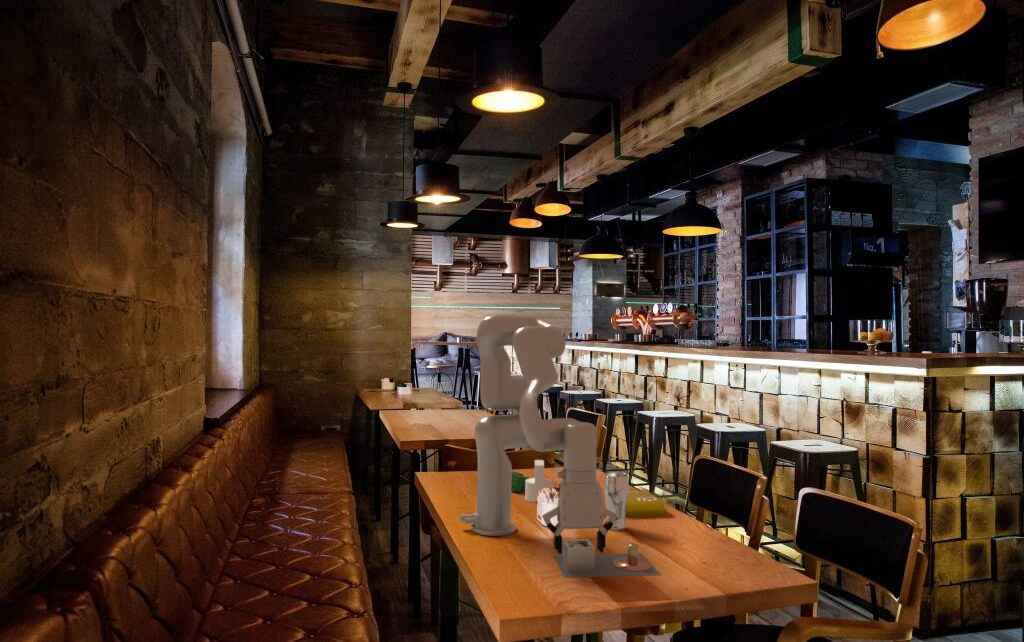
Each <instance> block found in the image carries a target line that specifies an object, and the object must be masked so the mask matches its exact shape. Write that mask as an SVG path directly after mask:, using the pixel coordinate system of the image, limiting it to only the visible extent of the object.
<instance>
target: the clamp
mask: <svg viewBox="0 0 1024 642" xmlns="http://www.w3.org/2000/svg"><path fill="white" fill-rule="evenodd" d="M529 478H531V477H530V476H525V475H524V474H523V473H521V472H518V471H513V470H512V476H511V492H513V493H517V492H519V493H520V492H521V491H525V481H526V479H529Z"/></svg>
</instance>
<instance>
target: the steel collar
mask: <svg viewBox="0 0 1024 642" xmlns="http://www.w3.org/2000/svg"><path fill="white" fill-rule="evenodd" d="M575 544H580V545H583V546H584V547H573V545H575ZM595 554H596V547H595V546H594V544H593V543H592V541H591V540H590V539H589V538H579V539H577V538H574V539H573V538H569V539H562V553H561V555H562V562H563V564H564V566H565V568H566V570H567V571H588V570H595Z"/></svg>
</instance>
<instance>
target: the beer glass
mask: <svg viewBox="0 0 1024 642" xmlns="http://www.w3.org/2000/svg"><path fill="white" fill-rule="evenodd" d="M603 484H604V485H603V486H604V487H603V495H604V502H605V508H606V509H608V510H610V511H612V512H614V513H615V514H616V515H617V518H616V520H615V522H614V523H613V526H612V528H611V529H610V530H609V531H611V530H612V531H625V530H626V529H627V521H626V517H625V512H626V507H627V501H628V495H629V491H630V490H629V489H630V487H629V486H630V485H629V474H628V473H625V472H621V471H619V472H618V471H610V472H605V473H604V483H603ZM608 518H609V516H607V515H606V517H605V521H604V522H605V523H606V522H607V521H608ZM605 523H604V524H605Z"/></svg>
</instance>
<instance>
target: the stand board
mask: <svg viewBox="0 0 1024 642" xmlns="http://www.w3.org/2000/svg"><path fill="white" fill-rule="evenodd" d="M573 547H584V546H583V545H580V544H575V545H573ZM619 557H628V553H605V554H603V553H601V554H597V553H595V570H588V571H567V570H566V568H565V566H564V564H563V562H562V554H557V555H556V554H555V555H553V558H554V560H555V561H556V564H557V566H558V568H559V569H560V571H561V573H562V575H563V577H564V579H570V578H571V579H572V578H573V579H574V578H575V579H577V578H578V579H579V578H603V577H604V578H605V577H606V578H607V577H609V578H610V577H611V578H612V577H644V576H650V577H651V576H662V573H660V572H659V570H658V569H657V568H656V567H655V565H653V564H652V568H651V569H649V570H646V571H628V570H623V569H620V568H618V567H616V566H615V565H614V564H613V561H614V559H616V558H619ZM638 558H643V559H646V560H648V559H647V557H646V556H645V555H644V554H643V553H642V552H641V553H639V552H638Z"/></svg>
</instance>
